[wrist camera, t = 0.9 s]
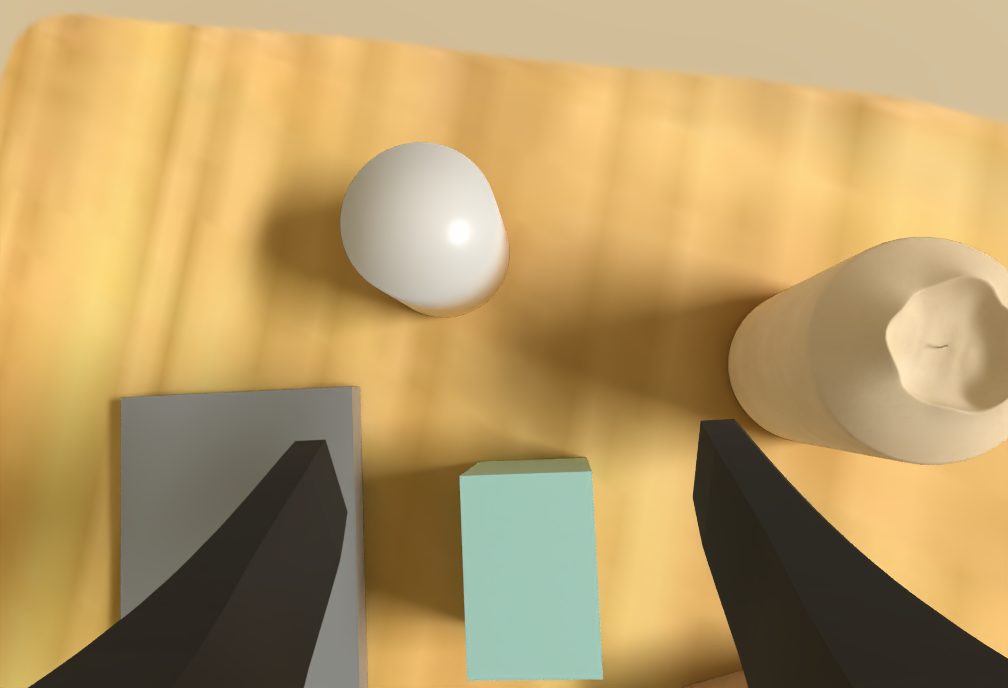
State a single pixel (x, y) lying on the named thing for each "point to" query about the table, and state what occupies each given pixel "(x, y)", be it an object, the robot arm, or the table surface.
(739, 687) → the walnut block
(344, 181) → the table surface
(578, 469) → the teal brick
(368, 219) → the grey cylinder
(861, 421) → the candle
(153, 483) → the slate board
